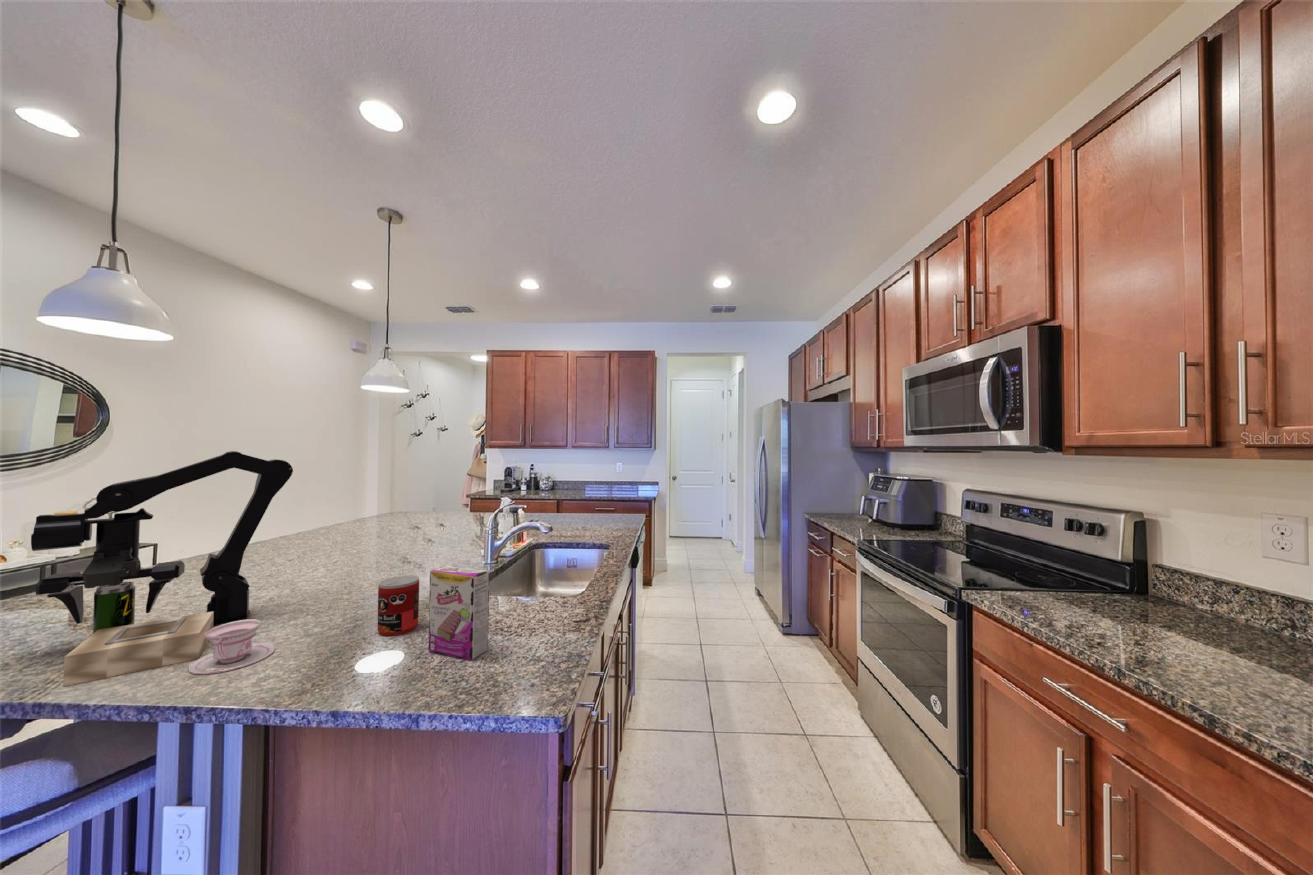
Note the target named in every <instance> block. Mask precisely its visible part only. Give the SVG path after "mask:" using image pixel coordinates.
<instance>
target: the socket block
mask: <svg viewBox="0 0 1313 875" xmlns="http://www.w3.org/2000/svg"><path fill="white" fill-rule="evenodd" d="M213 619H214V611H212V612H207V611H206V612H202V613H201V612H200V613H195V614H190V615H181V616H176V617H175V616H174V617H169V618H163V619H158V620H157V619H155V620H151V621H145V622H138V623H134V624H131V625H125V626H119V627H112V628H106V629H100V630H97V631H96V632H95V633H93V632H92V634H90V636H88V637H87V638H86V639H85V640H84V641H82V642H81V643H80V644H78V645H77V646H76V647H75V648H73V650H70V652H69V653H67V654H66V655H65V656H64V661H63V663H64V664H63V679H62V680H63V681H62V687H69V686H72V685H77V684H82V683H86V682H87V683H88V682H91V681H92V682H93V681H97V680H103V679H107V678H111V677H115V676H116V675H117V676H121V674H122V675H126V674H125V673H127V674H131V673H135V672H136V673H137V672H141V671H146V670H151V669H155V668H160V667H165V665H166V666H170V664H171V665H176V664H180V663H185V662H189V661H196V660H198V659H200V658H201V655H202V654H203V652H204V650H205V648H206V647H207V646H208V644H209V642H210V641H209V640H207V639H206V638H205V633H206V632H207V631H208V630H210V629H212V628H214V625H213ZM117 676H116V677H117Z"/></svg>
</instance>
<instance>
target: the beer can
mask: <svg viewBox="0 0 1313 875" xmlns="http://www.w3.org/2000/svg"><path fill="white" fill-rule="evenodd" d="M134 584H135V582H134V581H123V582H122V583H120V584H118V585H113V586H109V585H106V586H98V587H95V591H94V593H93V613H92V614H93V616H92V617H93V618H92V634H93V633H95V632H96V631H97V630H100V629H106V628H112V627H119V626H125V625H131V624H135V617H136V616H135V614H136V613H135V612H136V611H135V610H136V609H135V608H136V586H135V585H134Z"/></svg>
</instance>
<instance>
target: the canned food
mask: <svg viewBox="0 0 1313 875" xmlns="http://www.w3.org/2000/svg"><path fill="white" fill-rule="evenodd" d="M377 588H378V590H377V591H378V592H377V594H378V595H377V632H378V634H379V635H380V636H383V637H394V636H400V635H404V634H407V633H409V632H411V631H414V630H415V629H416V628H417V627H418V624H419V614H420V613H419V612H420V610H419V609H420V606H419V605H420V603H419V602H420V578H419V576H415V575H400V576H394V577H389V578H386V579H383V580H381V581H379V583H378V587H377Z"/></svg>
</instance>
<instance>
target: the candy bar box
mask: <svg viewBox="0 0 1313 875" xmlns="http://www.w3.org/2000/svg"><path fill="white" fill-rule="evenodd" d="M428 606H429V608H428V609H429V611H428V612H429V613H428V614H429V616H428V623H429V624H428V652H429V653H433V654H439V655H443V656H448V657H453V658H458V659H463V660H467V661H474V660H476V659H477V658H478V657H480V656H482V655H483V654H485V653H487V652H489V620H490V618H489V616H490V615H489V612H490V611H489V609H490V570H487V569H481V568H480V569H479V568H472V567H465V566H458V565H448V564H447V565H443V566H441V567H437V568H434V569H432V570H430V571H429V605H428Z"/></svg>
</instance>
